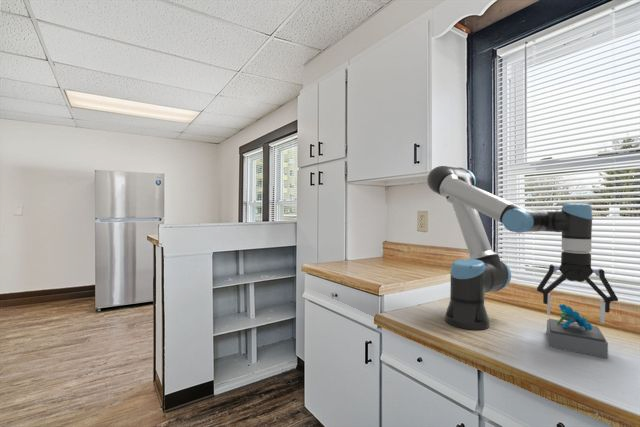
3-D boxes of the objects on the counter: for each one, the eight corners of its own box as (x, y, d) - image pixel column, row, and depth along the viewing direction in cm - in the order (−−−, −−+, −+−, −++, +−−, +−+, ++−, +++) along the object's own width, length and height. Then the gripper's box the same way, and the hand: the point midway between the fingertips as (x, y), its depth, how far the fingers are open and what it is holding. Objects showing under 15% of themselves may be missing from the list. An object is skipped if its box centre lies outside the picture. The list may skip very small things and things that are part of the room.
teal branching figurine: (601, 330, 98) (573, 304, 100) (586, 343, 98) (559, 317, 100) (579, 323, 108) (554, 300, 111) (565, 335, 109) (541, 312, 111)
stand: (548, 346, 102) (548, 330, 102) (546, 332, 114) (546, 317, 114) (607, 358, 94) (607, 341, 94) (598, 341, 107) (599, 326, 107)
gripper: (625, 254, 100) (624, 322, 100) (529, 247, 114) (528, 308, 114) (632, 256, 94) (630, 329, 94) (529, 249, 108) (528, 313, 108)
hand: (574, 318), depth 104 cm, fingers open, 13 cm apart
